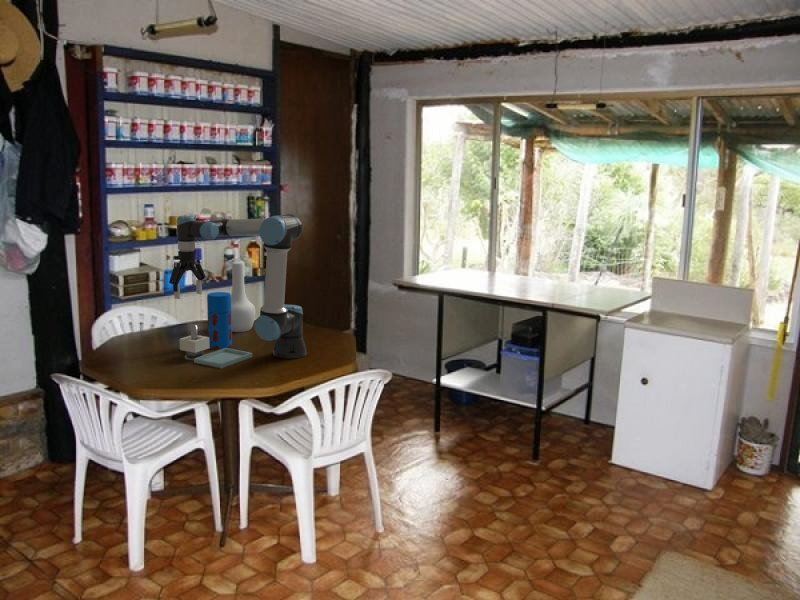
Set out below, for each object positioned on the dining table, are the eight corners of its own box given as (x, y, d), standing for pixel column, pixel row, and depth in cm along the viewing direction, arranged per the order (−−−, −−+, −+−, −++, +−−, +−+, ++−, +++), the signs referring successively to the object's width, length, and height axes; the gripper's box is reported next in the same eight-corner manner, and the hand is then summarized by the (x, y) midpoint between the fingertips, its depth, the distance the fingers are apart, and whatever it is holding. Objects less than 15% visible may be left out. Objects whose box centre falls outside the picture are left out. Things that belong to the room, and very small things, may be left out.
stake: (209, 356, 319) (208, 324, 316) (195, 361, 311) (194, 328, 308) (194, 353, 323) (193, 321, 320) (180, 358, 315) (178, 325, 312)
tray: (252, 357, 320) (252, 352, 320) (221, 368, 302) (221, 364, 302) (225, 352, 327) (225, 347, 326) (194, 362, 309) (194, 358, 309)
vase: (221, 326, 373) (219, 260, 366) (253, 325, 378) (252, 259, 371) (223, 334, 358) (222, 265, 351) (257, 332, 363) (256, 264, 356)
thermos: (225, 349, 331) (224, 297, 326) (204, 347, 333) (203, 295, 328) (235, 343, 341) (234, 292, 336) (215, 342, 343) (213, 291, 338)
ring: (209, 348, 318) (209, 337, 317) (195, 352, 310) (194, 341, 309) (191, 344, 323) (190, 333, 322) (176, 349, 315) (176, 338, 314)
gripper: (200, 246, 334) (202, 291, 339) (159, 252, 313) (161, 299, 317) (212, 248, 331) (213, 292, 335) (171, 254, 309) (173, 301, 314)
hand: (188, 296), depth 326 cm, fingers open, 13 cm apart
